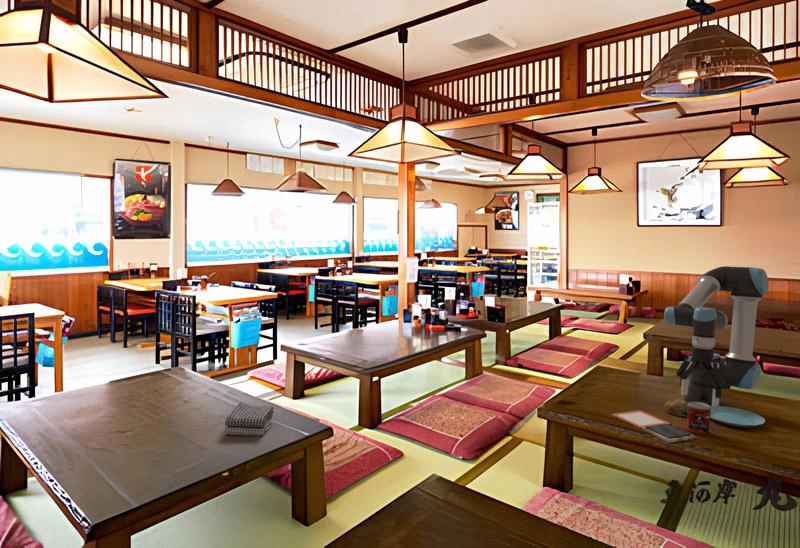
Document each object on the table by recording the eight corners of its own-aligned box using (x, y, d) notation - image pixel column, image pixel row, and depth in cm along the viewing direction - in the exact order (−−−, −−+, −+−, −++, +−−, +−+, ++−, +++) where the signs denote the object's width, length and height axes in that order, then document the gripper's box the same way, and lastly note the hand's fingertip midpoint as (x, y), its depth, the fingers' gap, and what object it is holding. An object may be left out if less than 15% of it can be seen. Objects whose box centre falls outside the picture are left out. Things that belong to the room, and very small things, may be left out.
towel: (223, 437, 181) (223, 417, 180) (237, 419, 199) (237, 400, 199) (265, 437, 182) (265, 416, 181) (275, 419, 200) (275, 400, 199)
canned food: (687, 433, 193) (688, 405, 192) (685, 426, 200) (687, 400, 199) (709, 437, 189) (711, 409, 188) (708, 430, 196) (709, 403, 195)
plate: (736, 433, 194) (736, 426, 194) (689, 414, 215) (690, 407, 215) (778, 428, 200) (779, 421, 200) (729, 410, 221) (729, 404, 221)
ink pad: (666, 426, 199) (666, 422, 199) (694, 438, 187) (695, 434, 187) (641, 429, 195) (641, 425, 195) (668, 442, 183) (669, 438, 183)
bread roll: (673, 424, 212) (680, 410, 208) (657, 407, 220) (664, 394, 217) (691, 422, 214) (699, 409, 211) (675, 405, 223) (682, 392, 219)
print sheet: (640, 411, 217) (640, 410, 217) (670, 424, 201) (670, 423, 201) (611, 415, 211) (611, 413, 211) (640, 428, 196) (640, 427, 196)
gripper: (668, 341, 202) (665, 391, 204) (726, 354, 179) (722, 411, 180) (682, 340, 205) (679, 390, 206) (740, 353, 181) (736, 409, 183)
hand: (699, 400), depth 193 cm, fingers open, 13 cm apart
